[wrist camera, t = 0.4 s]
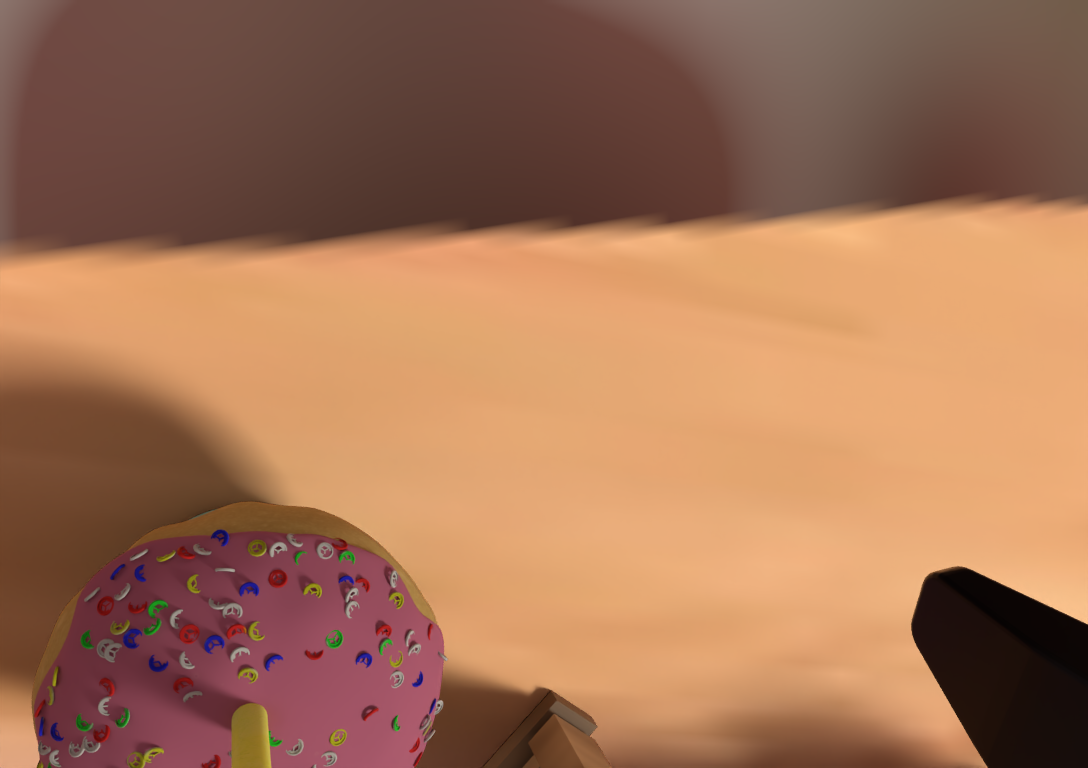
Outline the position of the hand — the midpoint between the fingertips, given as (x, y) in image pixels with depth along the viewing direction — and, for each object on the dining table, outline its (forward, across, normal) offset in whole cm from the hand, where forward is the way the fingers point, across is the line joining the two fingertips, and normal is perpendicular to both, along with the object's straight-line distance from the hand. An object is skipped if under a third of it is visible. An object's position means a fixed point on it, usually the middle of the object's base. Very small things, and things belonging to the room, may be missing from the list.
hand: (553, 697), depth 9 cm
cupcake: (+13, +4, +9) cm, 17 cm away
